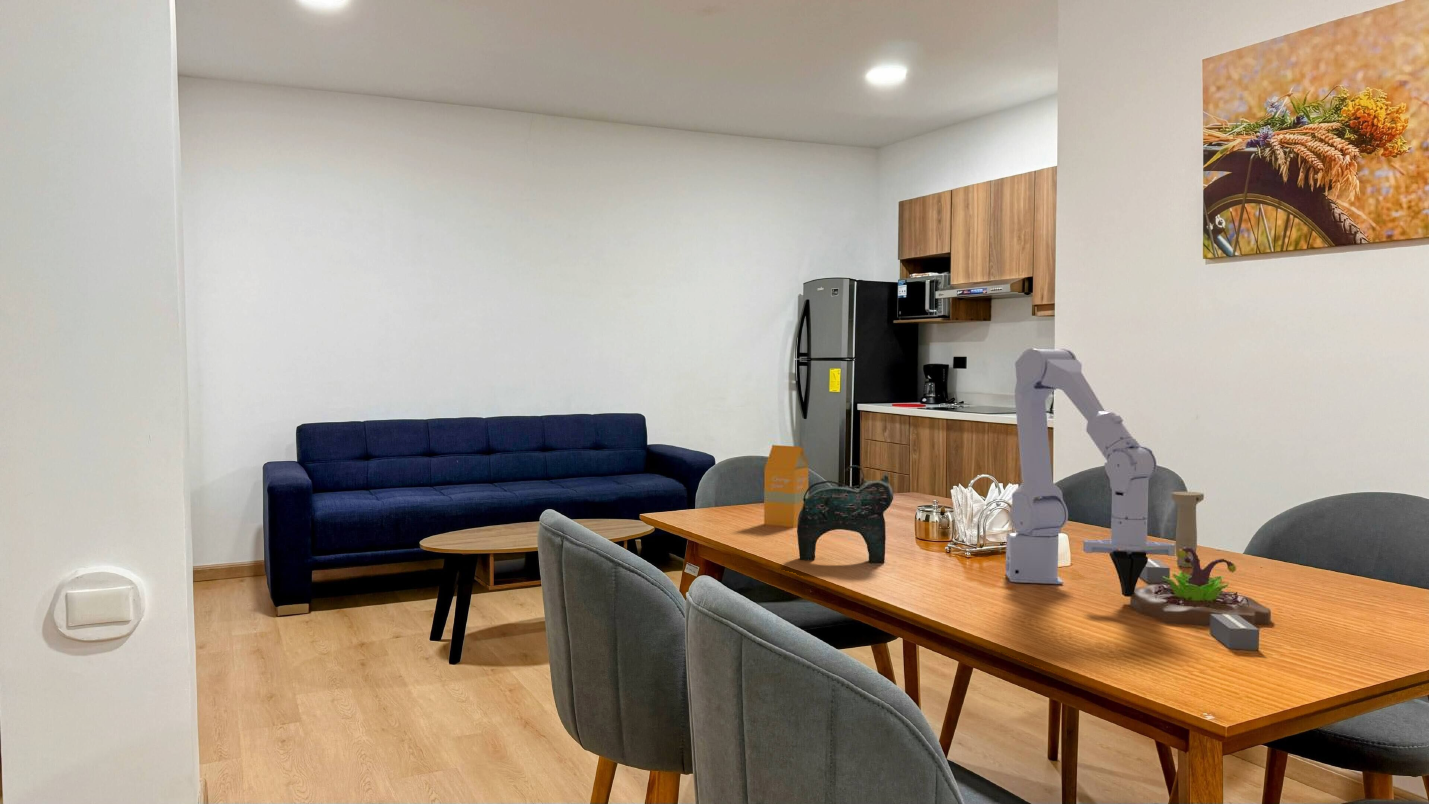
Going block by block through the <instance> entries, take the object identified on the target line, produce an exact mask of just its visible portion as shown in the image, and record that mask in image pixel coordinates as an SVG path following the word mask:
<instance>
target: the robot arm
mask: <svg viewBox="0 0 1429 804" xmlns="http://www.w3.org/2000/svg"><path fill="white" fill-rule="evenodd" d="M1014 366H1015V376H1016V378H1015V379H1016V383H1015V389H1014V402H1015V414H1016V425H1017V427H1016V428H1017V437H1018V438H1017V439H1018V450H1019V461H1020V463H1019V464H1020V471H1021V472H1020V473H1021V484H1020V485H1019V486H1017V488H1016V489H1015V490H1014V491H1013V492H1012V494H1011V499H1012V503H1011V507H1010V511H1009V518H1010V523H1011V524H1012V526H1013V528H1014V529H1015V532H1008V533H1007V535H1006V541H1005V543H1006V544H1005V545H1006V546H1005V547H1006V550H1005V552H1006V553H1005V573H1004V574H1005V575H1006V577H1007V578H1008V580H1009V581H1010V582H1011V583H1025V584H1027V583H1029V584H1049V585H1051V584H1052V585H1063V584H1064V581H1063V580H1062V579H1061V578H1060V576H1059V570H1058V569H1059V538H1060V537H1059V534H1062V528H1064V527H1065V526H1066V524H1067V523H1068V519H1069V511H1068V507H1067V505H1066V503H1065V501H1064V498H1063V491H1062V490H1061V488H1059V487H1058V485H1056V484H1055V482H1053V476H1052V465H1051V464H1052V462H1051V452H1050V441H1049V440H1050V439H1049V430H1048V428H1049V427H1048V418H1047V406H1046V401H1047V399H1048V398H1049V396H1051V394H1052V393H1053V392H1054V391H1056V390H1061V391H1062V392H1063V393H1064V394H1065V395H1066V396H1067V397H1068V399H1069V400H1070V401H1071V403H1072V404H1073V405H1074V406H1075V408H1076V409H1077V410H1078V411H1079V413H1080V414H1081V415H1082V416H1083V417H1084V419H1085V420H1086V421H1087V423H1086V430H1085V431H1086V433H1087V434H1088V435H1089V437H1090V438H1091V440H1092V441H1093V443H1094V444H1095V446H1096V447H1097V449H1098V450H1099V451H1100V453H1101V455H1102V456H1103V457H1104V459H1105V461H1106V462H1104V470H1105V472H1106V475H1107V476H1108V478H1109V488H1110V489H1111V516H1110V517H1111V518H1110V521H1111V524H1110V525H1111V526H1110V539H1091V540H1090V539H1083V544H1082V545H1083V546H1082V547H1083V548H1082V551H1083V552H1084V553H1085V554H1092V553H1099V554H1109V557H1110V559H1111V561H1112V563H1113V565H1114V568H1115V570H1116V573H1117V576H1118V579H1119V583H1120V588H1121V594H1122V595H1123V596H1124V597H1127V598H1129V597H1130V596H1131V594H1133V593H1134V590H1135V588H1137V587H1136V586H1137V583H1138V581H1139V579H1140V577H1139V576H1140V574H1141V572H1142V570H1143V569H1144V567H1145V566H1146V564H1147V562H1148V559H1149V557H1148V556H1147V555H1153V556H1155V555H1157V556H1158V555H1159V556H1168V557H1176V545H1175V544H1174V543H1172V542H1160V541H1159V542H1158V541H1150V540H1149V541H1148V521H1149V520H1148V518H1149V516H1148V515H1149V513H1148V512H1149V480H1150V479H1151V478H1152V477H1153V476H1154V474H1155V473H1156V470H1157V459H1156V457H1155V454H1154V453H1153V450H1152V449H1151V448H1149V447H1147V446H1143V445H1141V444H1140V443H1139V442H1138V441H1137V440H1136V439H1135V438H1134V437H1133V436H1132V434H1131V433H1130V432H1129V431H1128V429H1127V427H1126V426H1125V425H1124V424H1123V422H1124V420H1123V419H1122V418H1123V417H1121V415H1117V414H1116V413H1115V412H1112V411H1106V410H1105V408H1104V407H1103V405H1102V404H1101V401H1100V400H1099V399H1098V397H1097V395H1096V394H1095V392H1094V391H1093V388H1092V387H1091V385H1090V384H1089V382H1088V380H1086V377H1085V376H1084V375H1083V372H1082V369H1083V368H1082V367H1083V366H1082V363H1081V361H1079V360H1078V359H1077V356H1076V355H1075V354H1074V353H1073V351H1071V350H1070V349H1066V348H1059V349H1046V348H1045V349H1042V348H1040V349H1037V348H1028V349H1026V350H1025V351H1024V352H1022V353H1021V355H1020V356H1019V358H1017V360H1016V361H1015V362H1014ZM1039 497H1040V498H1039Z"/></svg>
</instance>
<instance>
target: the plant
mask: <svg viewBox="0 0 1429 804" xmlns="http://www.w3.org/2000/svg"><path fill="white" fill-rule="evenodd" d="M1188 552H1191V553H1192V556H1193V559H1192V558H1191V557H1189V556H1187V557H1185V556H1186V555H1187V553H1188ZM1177 555H1178V557H1180V558H1184V557H1185V559H1184V563H1185V564H1186V565H1192V566H1193V567H1192V571H1191V574H1190V575H1189V574H1188V573H1185V572H1184V571H1180V572H1179V573H1178V575H1177V574H1175V573H1172V574H1171V575H1172V577H1173V578H1174V579H1175V581H1176V582H1177V583H1178V584H1176V582H1175V581H1173V580H1172V578H1167V577H1164V576H1163V578H1164V579H1165V580H1166V581H1162V583H1159V584H1148V585H1144V586H1140V587H1139V586H1138V587H1135V590H1134V593H1133V594H1131V596H1130V598H1129V600H1130V602H1129V605H1130V608H1131V609H1133V610H1134V611H1135V612H1137V613H1138V614H1141V615H1144V616H1147V617H1151V618H1154V619H1156V620H1158V621H1161V622H1162V623H1164V624H1165V623H1166V624H1172V625H1190V626H1192V625H1193V626H1200V627H1201V626H1203V627H1210V614H1228V615H1239V616H1240V617H1242V618H1243V619H1245V620H1246V621H1247V622H1249V623H1250V624H1252V625H1253V626H1255V627H1256V625H1266V626H1268V625H1269V626H1270V624H1271V621H1272V619H1271V618H1272V617H1271V616H1272V615H1271V613H1272V611H1271V609H1270V608H1269V607H1266V606H1264V605H1262V604H1261V603H1259V602H1258V601H1256V600H1254V599H1252V598H1251V597H1249V596H1246V595H1243V594H1238V591H1235V592H1234V591H1233V592H1232V591H1225V590H1224V589H1226V588H1227V587H1228V586H1229V583H1227V584H1223V585H1221V582H1222V580H1223V577H1222V576H1215V577H1211V576H1210V575H1211V572H1212V571H1213V569H1214V567H1215V566H1216V565H1217V564H1219V563H1220V564H1222V563H1225V564H1226V565H1227V570H1228V571H1229V572H1231V573H1235V572H1236V570H1237V566H1236V564H1234V563H1233V562H1232V561H1229V560H1227V559H1225V558H1218V559H1215V560H1212V561H1211V562H1209V563H1208V564H1207V566H1205V567H1204V568H1202V566H1201V563H1200V562H1201V559H1199V555H1198V554H1197V551H1196V552H1195V551H1194V550H1193V549H1192V548H1186V547H1184V548H1181V549H1179V550H1178V551H1177ZM1178 557H1177V558H1178ZM1210 577H1211V578H1210ZM1167 581H1168V582H1169V583H1168V582H1167ZM1163 582H1165V583H1167V584H1164V583H1163Z"/></svg>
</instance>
